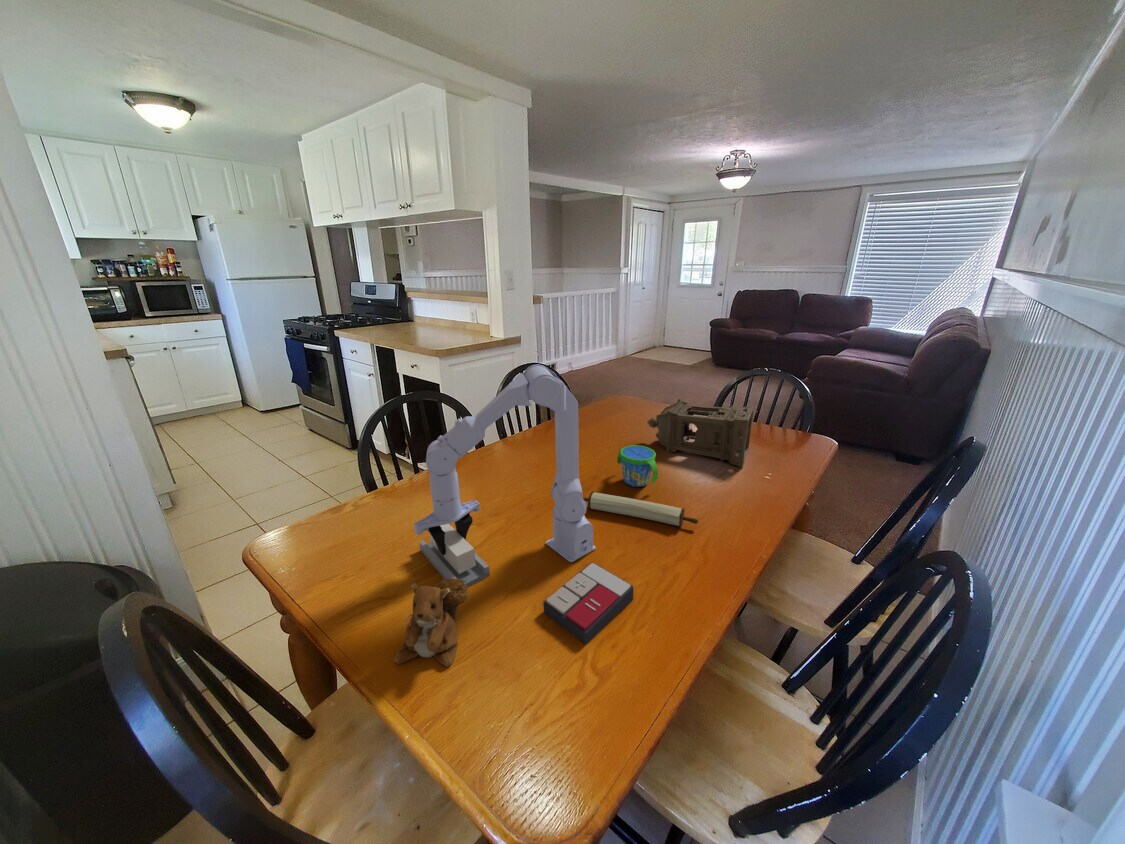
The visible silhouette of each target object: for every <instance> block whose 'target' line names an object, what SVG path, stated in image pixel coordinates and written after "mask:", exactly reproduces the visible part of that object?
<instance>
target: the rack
mask: <svg viewBox="0 0 1125 844" xmlns="http://www.w3.org/2000/svg"><path fill="white" fill-rule="evenodd" d="M418 543H419V549H420V552H421V553H422V554H423V556H424V557H425V558H426V559H427V560H428V561H429V563H430V564H431V565H432V567H434V569H435V570H436V571H437V572H438V573H439V575H440V576H441V577H442V579H444V580H445V579H449V578H452V579H456V578H459V579H460V580H464V581H465V580H466V582H465V583H464V584H465V585H466V586H467V588H468V587H470V586H472V585H474V584H476V583H478V582H480V581H483V580H484V579H486V578H488V577H490V565H488V564H487V563H486V562H485V561H484V560H483V559H482V558H481V557H480V556H479V554H477V553H476V552H475V562H476V566H474V567H472V568H470V569H468V570H466V571H464V572H462V573H460V574H458V572H457V571H456V570H455V569H454V568H453V567H452V566H451V565H450V563H449V562H448V561H447V560H446V559H445V558H444V557H443V556H442V554H441V553H440V552H439V551H438V550H437V549H436V548H435V547H434V546H433V544H432V543H431V542H429V543H427V542H426V541H425V540H424V539H423V540H420V541H419V542H418Z"/></svg>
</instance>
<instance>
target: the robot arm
mask: <svg viewBox="0 0 1125 844" xmlns="http://www.w3.org/2000/svg"><path fill="white" fill-rule="evenodd" d="M531 400H532V402H534V404H536V405H539V406H542V407H546V408H549V409H551V410H552V411H553V412H554V427H555V428H554V430H555V431H554V432H555V435H554V436H555V437H554V438H555V458H556V460H555V461H556V462H555V464H556V466H555V468H556V474H555V475H554V483H553V485H552V487H551V490H550V494H551V498H552V499H553V500H554V503H555V505H554V507H553V508H552V530H553V531H552V532H553V533H552V538H550V539H547V540H546V541H545V544H546V545H547V546H548V547H550V549H552V550H553V551H555V552H556V553H558V554H559V555H560V556H562V558H564V559H565V560H566V561H568V562H569V563H573V562H576V561H577V560H578V559H580V558H582V557H583V556H585V555H587V554H589V553H590V552H593V551H594V550H596V549H597V547H596V546H595V545H594V526H593V524H592V523H591V522H590V521H589V520H588V519H587V518H586V516H585V514H586V513H587V510H588V509H587V508H588V505H587V502H586V501H584V500H583V497H584V495H583V489H582V484H581V482H580V469H579V468H580V466H579V465H580V463H579V457H580V456H579V455H580V454H579V452H580V451H579V449H580V447H579V442H580V441H579V438H580V437H579V403H578V401H577V398H576V397H575V396H574V395H573V394H572V392H571V391H570V390H569V388H568V387H567V386H566V385H565V383H564V382H563V381H562V380H561V378H559V376H558V375H557V374H556V372H554V371H553V370H552V369H549V367H546V366H545V365H542V364H538V363H537V364H533V365H532V364H531V365H530V366H528V367H527V368H526V369H525V370H524V372H521V373H519V374H517V375H516V376H515V377H514V378H513V379H512V381H510V382H509V384H507V386H505V387H504V388H503V389H502V390H501V391H500V392H499V393H497V395H495V397H494V398H493V399H492V400H491V401H490V402H489V403H487V405H485V406H484V407H483V408H482V409H481V410H480V411H479V412H478V413H477V414H476V415H474V416H472V415H471V416H470V415H469V416H468V415H467V416H465V417H463V418H462V419H461V418H460V417H459V418H458V419H456V420H455V421H454V426H453V427H452V428H451V429H450V430H448V431H447V432H446V433H445V434H443V435H441V434H440V435H439V436H438V437H437V439H436V440H433V441H432V442H431V443H430V444H428V447H427V450H426V455H425V456H426V458H425V464H426V469H428V475H429V478H428V479H429V480H428V481H429V485H430V486H429V487H430V492H431V493H430V495H431V501H432V509H433V512H431V513H429V514H428V515H427V516H425V517H423V518H422V519H420V520H418V521H417V522H414V523H413V529H414V533H415V534H417V536H421V535H423V534H424V532H426V531H428V532H429V535H430V534H431V536H432V537H433V539H434V540H435V542H436V544H437V547H438V550H439V552H440V553H441V554H442V555H445V554H446V549H445V532H444V531H443V530H442V527H440V525H445V524H450V525H451V524H454V525H455V530H456V531H457V532H458V533H459V534H460V535H461V536H462V537H463V538H464V539H465V540H466V541H467V535H468V532H469V529H470V527H471V526H472V524H473V521H474V519H473V517H472V516H471V513H473V512H476V513H477V512H480V511H481V505H480V502H479V501H477V499H473V500H471V501H467V502H461V495H460V485H459V477H458V476H459V475H458V473H457V470H456V469H457V468H456V467H457V462H458V459H461V458H463V457H464V456H465V455H466V454H467V453H469V452H470V451H471V450H472V449H473V448H474V447H475V446H477V445H478V444H479V443H480V442H481V441H482V440H483V439H485V437H486V429H488V427H491V425H493V424H494V423H495V422H496V421H497V420H499V419H500V418H502V417H503V416H504V415H506V414H507V413H508V412H509V411H511V409H513V408H514V407H516V406H520V407H522V406H523V407H531V406H532V404H531V402H530V401H531Z"/></svg>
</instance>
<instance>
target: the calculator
mask: <svg viewBox="0 0 1125 844" xmlns="http://www.w3.org/2000/svg"><path fill="white" fill-rule="evenodd" d="M634 590H635V589H634V586H633V585H632V584H630V583H629V582H627V581H625V580H624V579H623V578H620V577H619V576H617V575H615V574H613V573H612V572H610V571H608V570H606V569H605V568H603V567H602V566H600V565H598V564H596V563H595V562H590V563H589V564H588V565H587V566H585V567H584V568H583V569H582V570H581V571H579V572H577V574H575V575H574V576H573V577H571V579H570V580H568V581H567V582H566V583H565V584H564V585H562V586H561V587H559V588H558V589H557V590H555V592H554V593H552V594H551V595H550V596H549V597H548V598H546V599H545V600H544V601H543V604H542V605H543V614H545V615H546V616H547V617H549V618H550V619H551V620H553V621H554V622H555V623H557V624H558V625H559V626H561V627H562V628H563V629H564V630H566V632H569V633H570V634H571V635H572V636H574V637H575V638H577V639H578V640H579V641H581V642H582V643H583V644H584V645H587V644H588V643H589V642H590V641H591V640H593V638H594V637H596V636H598V634H599V633H600V632H601V631H602V630H603V629H604V628H606V626H607V625H608V624H609V623H610V622H611V621H612V620H613V619H614V618H615V617H616V616H617V615H618V614H619V613H620V612H622V611H623V610H624V609H625V608H627V607H628V605H630V604H631V603H632V602H633V601H634Z"/></svg>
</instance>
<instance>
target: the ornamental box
mask: <svg viewBox="0 0 1125 844" xmlns="http://www.w3.org/2000/svg"><path fill="white" fill-rule="evenodd" d="M754 408H755V406H741V407H739V408H738V409H737V408H734V405H731V406H730V407H725V406H724V407H721V406H720V407H719V406H707V405H706V406H705V405H696V404H688V402H687V401H683V400H682V398H678V399H677V402H676V403H673V404H670V405H668V406H665V407H664V409H663V410H662V411H660V414H657V415H656V417H651V418H650V419H649V420H647V424H648V425H649V427H650V428H652V429H655V428H657V430H658V431H657V432H656V434H655V437H656V438H657V441H659V444H661V445H662V446H663V447H665V449H666V450H665V452H666V453H676V452H677V451H682V452H686V453H691V454H695V455H697V454H698V455H700V456H705V457H710V458H715V459H716V458H717V459H720V462H721V463H722V462H723V461H725V460H727V461H728V463H729V464H730V465H734V466H737V467H739V468H742V469H743V467H744V464H745V461H746V458H747V455H748V452H749V448H750V440H751V431H752V427H753V426H752V424H753V417H754V410H755V409H754ZM690 424H691V425H694V426H695V427H696V431H693V429H692V428H690ZM690 440H692V441H690Z"/></svg>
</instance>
